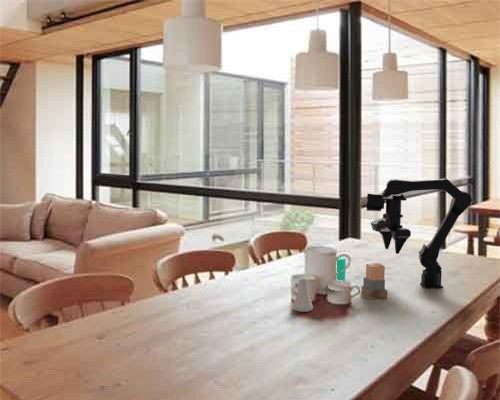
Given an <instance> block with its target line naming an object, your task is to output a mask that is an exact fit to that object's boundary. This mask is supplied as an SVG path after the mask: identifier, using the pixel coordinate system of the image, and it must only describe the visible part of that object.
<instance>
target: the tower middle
mask: <svg viewBox="0 0 500 400" xmlns="http://www.w3.org/2000/svg"><path fill="white" fill-rule="evenodd" d="M362 286H363V287H365V288H367V289H369V290H371V291H373V290H384V289H386V287H385V286H386V279H384V280H374V281H371V280H369V279H368V278H367V277H366V276H364V277H363V283H362Z"/></svg>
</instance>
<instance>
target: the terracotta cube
mask: <svg viewBox="0 0 500 400" xmlns="http://www.w3.org/2000/svg"><path fill="white" fill-rule="evenodd" d="M385 270H386V267H385V265H383V264H382V263H380V262H377V263H376V262H375V263H374V262H373V263H366V264H365V277H367V278H368V279H369V280H371V281H374V280H385V274H386V273H385Z"/></svg>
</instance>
